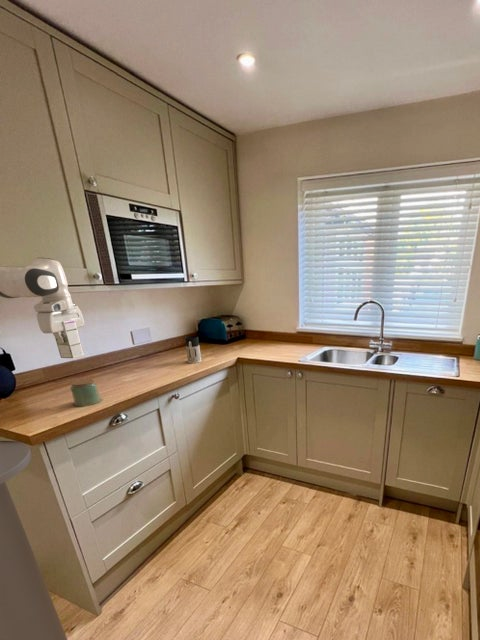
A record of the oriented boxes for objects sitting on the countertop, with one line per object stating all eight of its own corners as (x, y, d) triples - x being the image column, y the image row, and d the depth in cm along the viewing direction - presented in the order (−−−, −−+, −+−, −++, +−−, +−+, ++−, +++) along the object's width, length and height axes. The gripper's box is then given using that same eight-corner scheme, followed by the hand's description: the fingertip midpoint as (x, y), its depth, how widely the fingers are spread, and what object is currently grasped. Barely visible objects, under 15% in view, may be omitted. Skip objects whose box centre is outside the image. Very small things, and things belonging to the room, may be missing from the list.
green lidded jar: (92, 406, 135) (86, 385, 131) (70, 406, 134) (64, 385, 131) (104, 398, 143) (99, 378, 140) (83, 398, 143) (78, 378, 140)
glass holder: (203, 359, 209) (200, 335, 204) (199, 365, 196) (196, 339, 191) (188, 360, 208) (185, 336, 202) (184, 365, 195) (180, 340, 189)
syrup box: (84, 355, 134) (75, 318, 128) (73, 358, 128) (63, 320, 123) (72, 355, 134) (62, 318, 129) (60, 358, 129) (49, 320, 124)
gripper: (68, 302, 134) (77, 337, 139) (29, 307, 115) (41, 346, 120) (84, 302, 134) (92, 336, 139) (48, 307, 115) (58, 346, 120)
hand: (68, 341), depth 129 cm, fingers closed on syrup box, 6 cm apart
